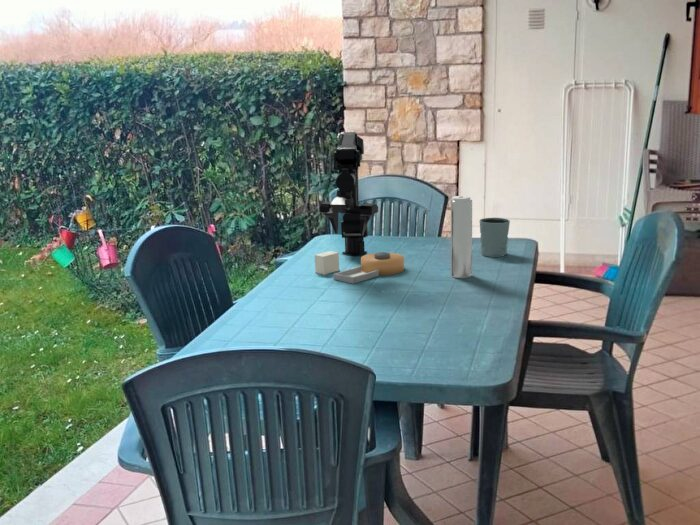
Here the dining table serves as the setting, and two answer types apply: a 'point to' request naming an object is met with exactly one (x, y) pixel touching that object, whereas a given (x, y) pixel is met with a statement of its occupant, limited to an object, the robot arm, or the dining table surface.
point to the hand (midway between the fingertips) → (349, 234)
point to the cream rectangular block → (326, 262)
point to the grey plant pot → (494, 236)
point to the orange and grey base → (373, 267)
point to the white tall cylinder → (461, 237)
